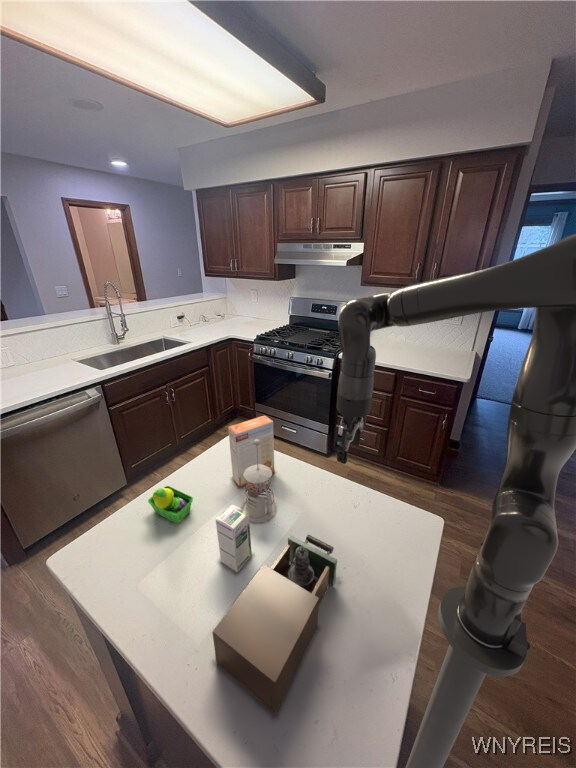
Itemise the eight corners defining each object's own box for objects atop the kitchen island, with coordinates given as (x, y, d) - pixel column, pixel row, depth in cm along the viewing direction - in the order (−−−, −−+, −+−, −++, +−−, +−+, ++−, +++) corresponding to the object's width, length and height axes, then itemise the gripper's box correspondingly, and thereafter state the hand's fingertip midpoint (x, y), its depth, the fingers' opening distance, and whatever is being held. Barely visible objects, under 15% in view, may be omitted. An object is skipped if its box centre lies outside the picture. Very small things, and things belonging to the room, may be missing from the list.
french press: (263, 493, 101) (262, 426, 91) (285, 515, 93) (286, 445, 83) (236, 507, 95) (232, 437, 86) (257, 532, 87) (254, 458, 77)
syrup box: (237, 573, 76) (234, 529, 70) (219, 561, 79) (215, 518, 73) (252, 555, 80) (250, 513, 75) (234, 545, 83) (231, 503, 78)
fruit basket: (196, 510, 94) (192, 480, 90) (173, 532, 87) (168, 500, 82) (169, 497, 99) (163, 468, 94) (145, 516, 92) (138, 486, 87)
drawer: (298, 544, 83) (299, 522, 80) (342, 567, 77) (345, 544, 74) (255, 608, 68) (253, 584, 65) (304, 643, 62) (306, 618, 59)
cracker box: (266, 464, 115) (265, 414, 107) (275, 472, 111) (274, 421, 102) (231, 478, 108) (227, 425, 100) (239, 488, 103) (235, 433, 95)
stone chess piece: (284, 576, 73) (284, 539, 69) (307, 568, 75) (309, 532, 70) (293, 600, 68) (294, 562, 63) (317, 592, 70) (320, 554, 65)
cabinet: (264, 592, 72) (263, 563, 68) (317, 627, 65) (319, 597, 61) (216, 662, 59) (212, 631, 56) (275, 714, 53) (275, 683, 49)
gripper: (350, 377, 76) (345, 434, 82) (325, 399, 65) (321, 463, 71) (381, 384, 72) (373, 443, 78) (360, 408, 61) (352, 474, 67)
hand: (348, 452), depth 75 cm, fingers open, 8 cm apart
